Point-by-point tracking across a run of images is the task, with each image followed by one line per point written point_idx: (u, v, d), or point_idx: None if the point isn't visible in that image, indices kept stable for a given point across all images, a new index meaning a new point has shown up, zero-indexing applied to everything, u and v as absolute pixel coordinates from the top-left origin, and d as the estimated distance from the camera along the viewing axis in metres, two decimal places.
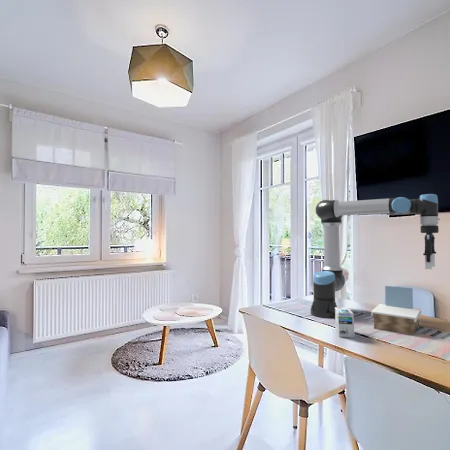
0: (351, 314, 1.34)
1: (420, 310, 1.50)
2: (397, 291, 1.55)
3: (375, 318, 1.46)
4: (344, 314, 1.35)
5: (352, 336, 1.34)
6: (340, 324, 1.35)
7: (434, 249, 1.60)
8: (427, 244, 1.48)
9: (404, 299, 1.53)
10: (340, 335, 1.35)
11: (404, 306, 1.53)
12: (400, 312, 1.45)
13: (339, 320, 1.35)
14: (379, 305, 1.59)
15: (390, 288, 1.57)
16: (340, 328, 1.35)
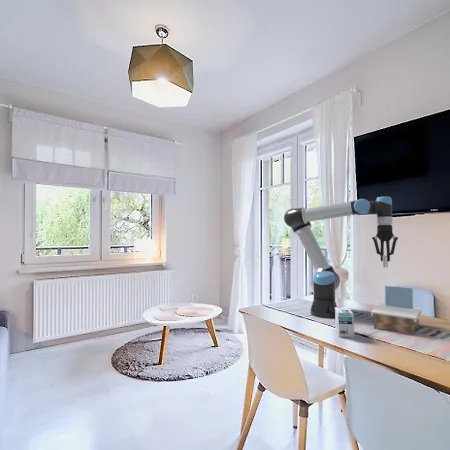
0: (351, 314, 1.34)
1: (420, 310, 1.50)
2: (397, 291, 1.55)
3: (375, 318, 1.46)
4: (344, 314, 1.35)
5: (352, 336, 1.34)
6: (340, 324, 1.35)
7: (392, 252, 1.67)
8: None
9: (404, 299, 1.53)
10: (340, 335, 1.35)
11: (404, 306, 1.53)
12: (400, 312, 1.45)
13: (339, 320, 1.35)
14: (379, 305, 1.59)
15: (390, 288, 1.57)
16: (340, 328, 1.35)
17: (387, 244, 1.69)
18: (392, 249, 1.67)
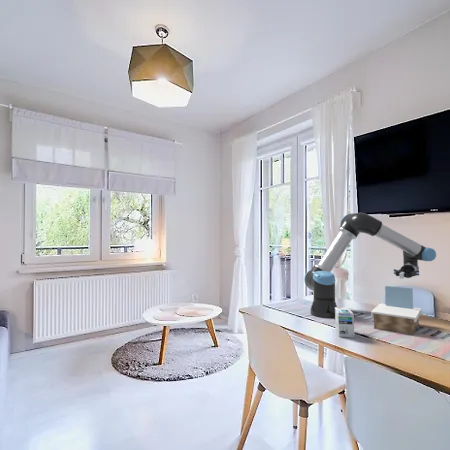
0: (351, 314, 1.34)
1: (420, 310, 1.50)
2: (397, 291, 1.55)
3: (375, 318, 1.46)
4: (344, 314, 1.35)
5: (352, 336, 1.34)
6: (340, 324, 1.35)
7: (411, 272, 1.67)
8: (395, 272, 1.75)
9: (404, 299, 1.53)
10: (340, 335, 1.35)
11: (404, 306, 1.53)
12: (400, 312, 1.45)
13: (339, 320, 1.35)
14: (379, 305, 1.59)
15: (390, 288, 1.57)
16: (340, 328, 1.35)
17: (407, 270, 1.72)
18: (411, 271, 1.68)
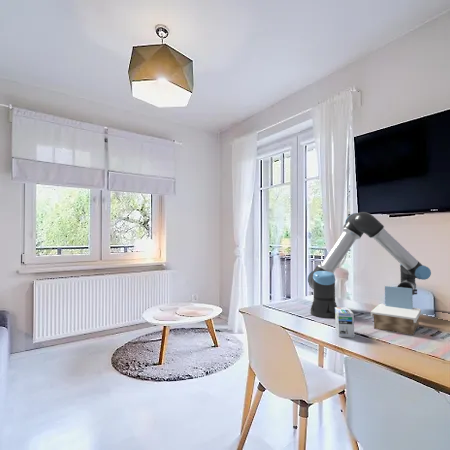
0: (351, 314, 1.34)
1: (420, 310, 1.49)
2: (397, 291, 1.55)
3: (375, 318, 1.46)
4: (344, 314, 1.35)
5: (352, 336, 1.34)
6: (340, 324, 1.35)
7: None
8: None
9: (404, 299, 1.53)
10: (340, 335, 1.35)
11: (404, 306, 1.53)
12: (400, 312, 1.44)
13: (339, 320, 1.35)
14: (379, 305, 1.58)
15: (390, 288, 1.57)
16: (340, 328, 1.35)
17: None
18: None
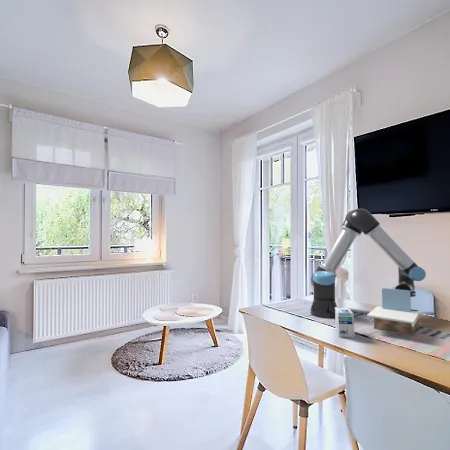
0: (351, 314, 1.34)
1: (418, 313, 1.44)
2: (394, 293, 1.49)
3: (375, 318, 1.46)
4: (344, 314, 1.35)
5: (352, 336, 1.34)
6: (340, 324, 1.35)
7: None
8: None
9: (402, 301, 1.47)
10: (340, 335, 1.35)
11: (402, 309, 1.47)
12: (397, 316, 1.39)
13: (339, 320, 1.35)
14: (376, 308, 1.53)
15: (387, 290, 1.51)
16: (340, 328, 1.35)
17: None
18: None
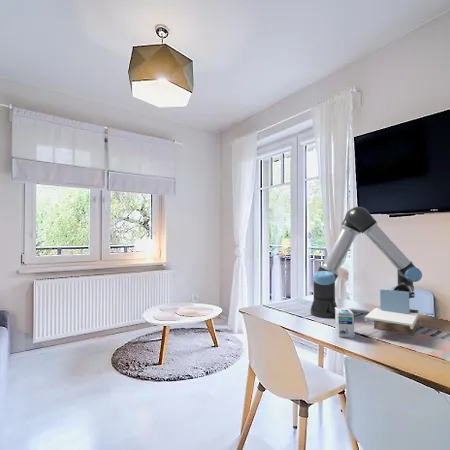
0: (351, 314, 1.34)
1: (417, 315, 1.41)
2: (393, 295, 1.46)
3: None
4: (344, 314, 1.35)
5: (352, 336, 1.34)
6: (340, 324, 1.35)
7: None
8: None
9: (401, 303, 1.44)
10: (340, 335, 1.35)
11: (400, 311, 1.44)
12: (396, 318, 1.36)
13: (339, 320, 1.35)
14: (374, 310, 1.50)
15: (385, 292, 1.48)
16: (340, 328, 1.35)
17: None
18: None
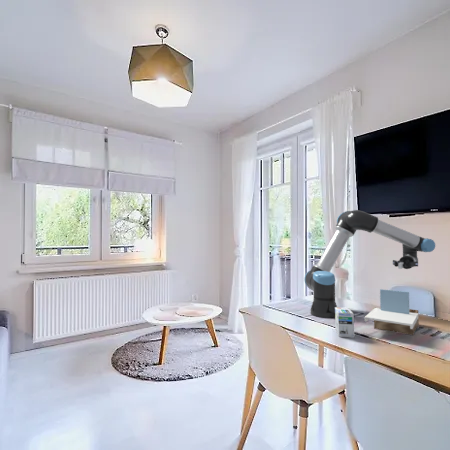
0: (351, 314, 1.34)
1: (417, 315, 1.40)
2: (393, 295, 1.46)
3: None
4: (344, 314, 1.35)
5: (352, 336, 1.34)
6: (340, 324, 1.35)
7: (410, 262, 1.67)
8: (394, 263, 1.74)
9: (401, 303, 1.44)
10: (340, 335, 1.35)
11: (400, 311, 1.44)
12: (396, 318, 1.36)
13: (339, 320, 1.35)
14: (374, 310, 1.50)
15: (385, 292, 1.48)
16: (340, 328, 1.35)
17: (406, 261, 1.71)
18: (410, 262, 1.68)
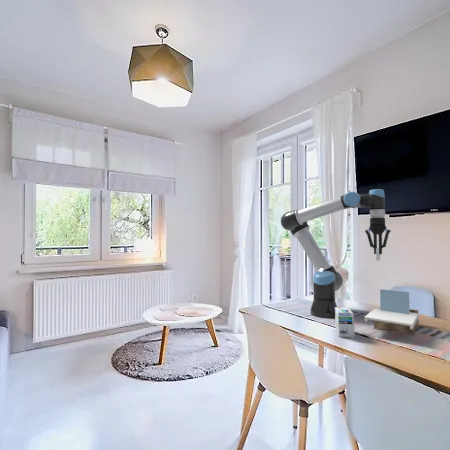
0: (351, 314, 1.34)
1: (417, 315, 1.40)
2: (393, 295, 1.46)
3: None
4: (344, 314, 1.35)
5: (352, 336, 1.34)
6: (340, 324, 1.35)
7: (384, 245, 1.67)
8: None
9: (401, 303, 1.44)
10: (340, 335, 1.35)
11: (400, 311, 1.44)
12: (396, 318, 1.36)
13: (339, 320, 1.35)
14: (374, 310, 1.50)
15: (385, 292, 1.48)
16: (340, 328, 1.35)
17: (379, 237, 1.68)
18: (384, 242, 1.67)
